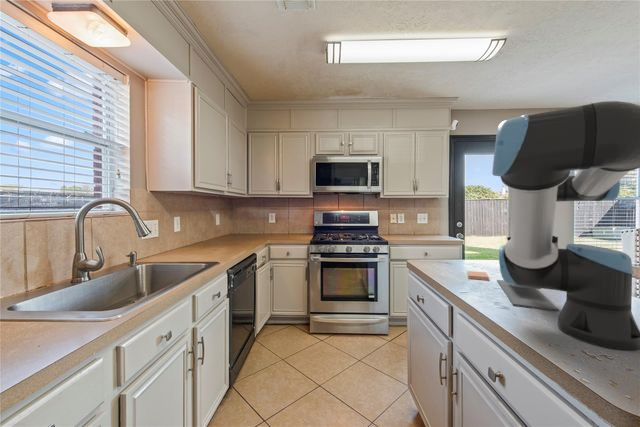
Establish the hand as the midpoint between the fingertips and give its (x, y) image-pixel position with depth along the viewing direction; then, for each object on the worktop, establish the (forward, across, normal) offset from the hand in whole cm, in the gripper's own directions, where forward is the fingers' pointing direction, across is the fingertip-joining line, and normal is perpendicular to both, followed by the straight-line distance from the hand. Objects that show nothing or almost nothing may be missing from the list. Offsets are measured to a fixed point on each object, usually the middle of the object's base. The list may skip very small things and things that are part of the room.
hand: (529, 284), depth 91 cm
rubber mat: (+6, 0, -8) cm, 10 cm away
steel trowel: (+2, 0, -7) cm, 8 cm away
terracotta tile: (+6, +13, -23) cm, 27 cm away
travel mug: (+6, -13, -30) cm, 34 cm away
